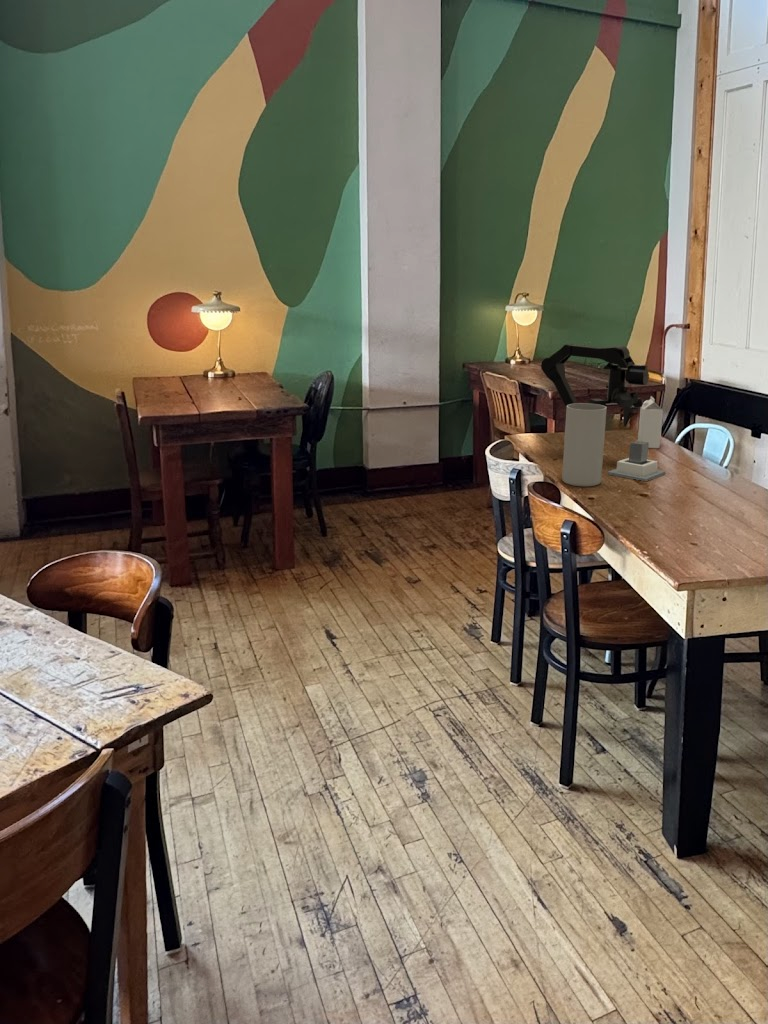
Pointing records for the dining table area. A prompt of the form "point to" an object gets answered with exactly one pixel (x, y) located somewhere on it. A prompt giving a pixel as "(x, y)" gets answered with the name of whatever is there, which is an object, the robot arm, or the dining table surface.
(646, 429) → the milk carton
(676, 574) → the dining table surface
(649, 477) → the socket block
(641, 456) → the square bit
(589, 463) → the cylinder vase
